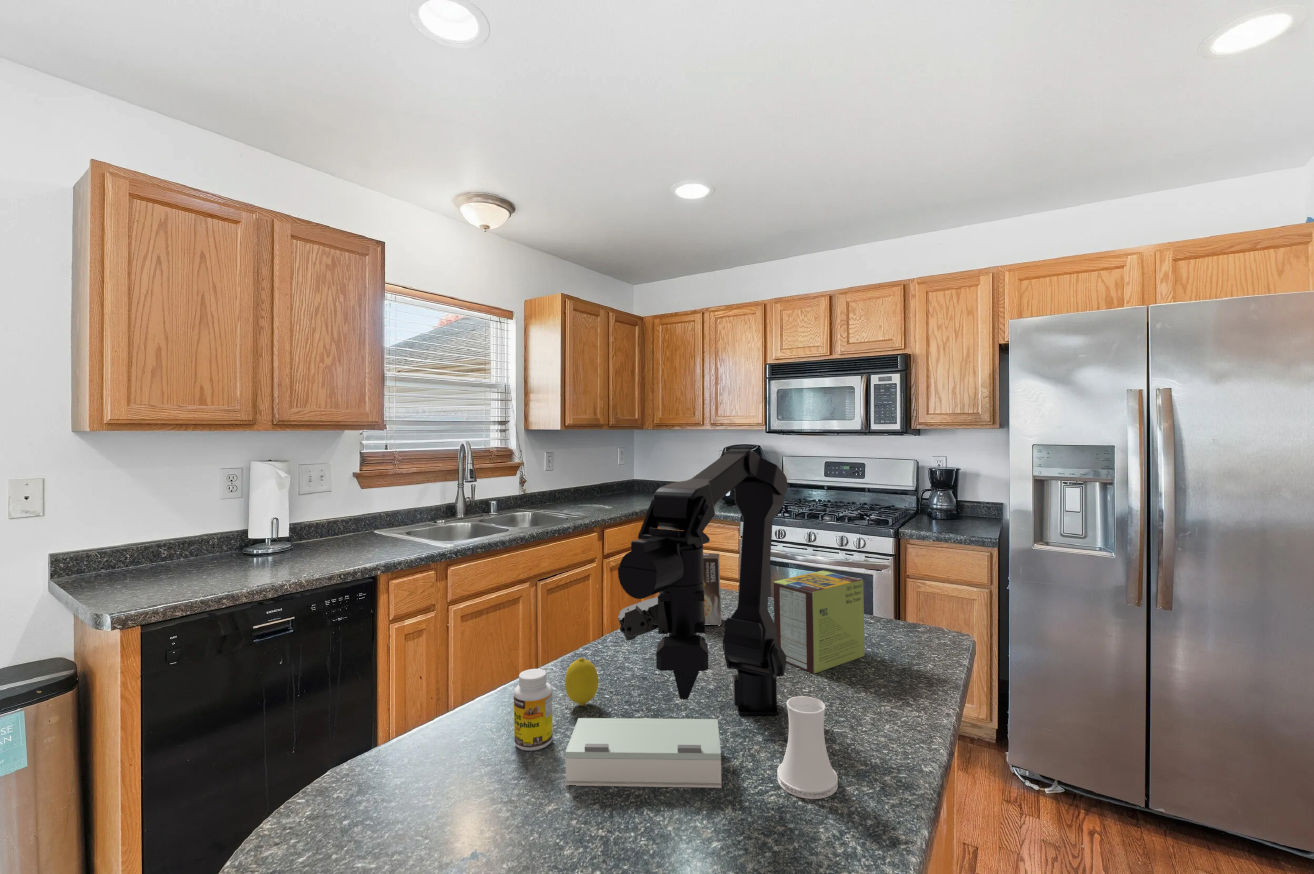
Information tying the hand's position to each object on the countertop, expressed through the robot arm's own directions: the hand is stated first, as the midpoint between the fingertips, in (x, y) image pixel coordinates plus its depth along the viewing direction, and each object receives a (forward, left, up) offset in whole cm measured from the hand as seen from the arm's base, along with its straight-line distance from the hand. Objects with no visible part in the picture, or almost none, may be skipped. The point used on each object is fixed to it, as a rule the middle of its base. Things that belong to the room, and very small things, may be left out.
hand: (683, 698), depth 79 cm
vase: (-16, +2, -10) cm, 19 cm away
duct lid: (+5, -1, -6) cm, 8 cm away
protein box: (-27, -41, -10) cm, 50 cm away
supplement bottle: (+22, -7, -10) cm, 26 cm away
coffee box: (-4, -63, -10) cm, 64 cm away
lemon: (+17, -19, -10) cm, 28 cm away
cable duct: (+5, -1, -10) cm, 11 cm away
